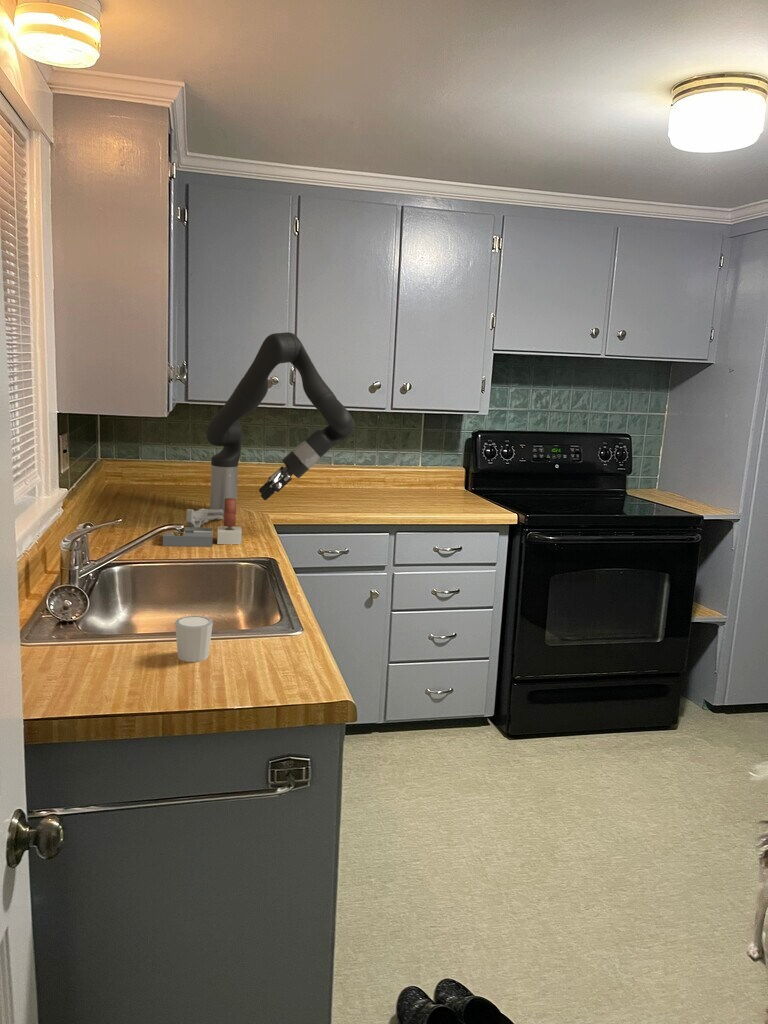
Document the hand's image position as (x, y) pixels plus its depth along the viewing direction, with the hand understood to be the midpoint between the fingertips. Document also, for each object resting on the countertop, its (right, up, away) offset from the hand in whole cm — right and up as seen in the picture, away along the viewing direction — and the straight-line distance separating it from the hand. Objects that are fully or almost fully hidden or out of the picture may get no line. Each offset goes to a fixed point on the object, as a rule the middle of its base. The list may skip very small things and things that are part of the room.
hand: (261, 495), depth 232 cm
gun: (-21, -10, +17) cm, 29 cm away
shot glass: (+1, -33, -86) cm, 92 cm away
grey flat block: (-22, -14, -2) cm, 26 cm away
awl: (-10, -14, +1) cm, 17 cm away
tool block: (-10, -14, +1) cm, 17 cm away
